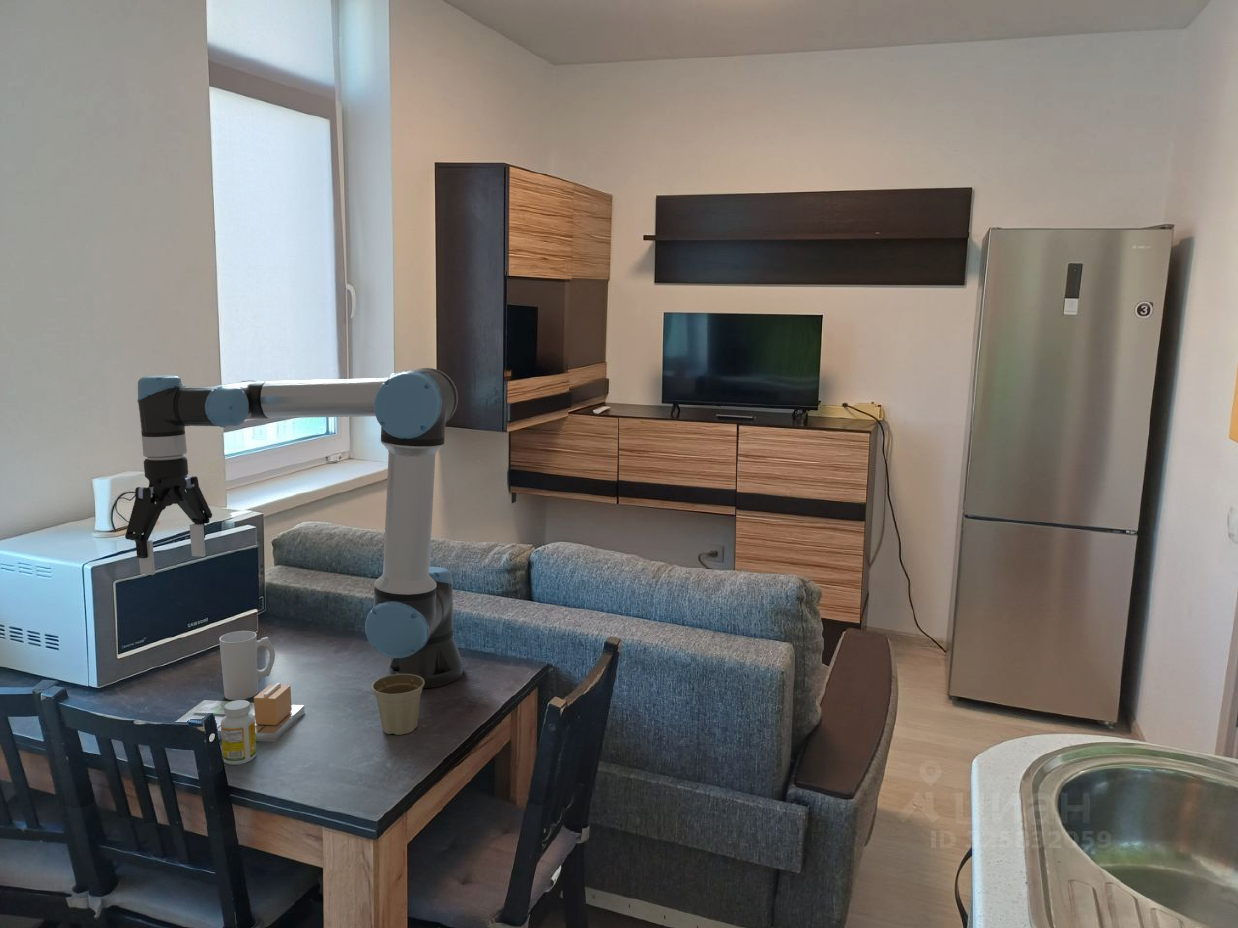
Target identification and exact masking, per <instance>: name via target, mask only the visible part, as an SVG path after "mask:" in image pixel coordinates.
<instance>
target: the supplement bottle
mask: <svg viewBox="0 0 1238 928" xmlns="http://www.w3.org/2000/svg"><path fill="white" fill-rule="evenodd" d="M250 703H251V702H250V701H248V700H247V699H244V700H231V701H230V702H229V703H227V704H226V705H225V706H224V713H225V715H226V716H225V717H224V718H223V719H222V720H221V737H222V739H221V748H222V749H221V750H222V754H221V755H222V760H223V759H224V761H223V762H224V763H226V764H227V765H231V766H232V765H233V766H235V765H243V764H246V763H249V762H250V761H253V759H255V757H256V756H257V741H256V733H255V717H254V715H253V714H252V713H250Z"/></svg>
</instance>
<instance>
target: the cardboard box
mask: <svg viewBox="0 0 1238 928" xmlns="http://www.w3.org/2000/svg"><path fill="white" fill-rule="evenodd" d="M291 690H292V689H291V685H288V684H287V685H284V684H281V682H276V683H275V684H269V685H268V686H266V687H265V688H264V689H263V690H261V691H260V692H258V693H257V694H256V695H255V696H253V703H254V710H255V724H265V725H277V724H278V723H279V722H280V721H282V720H283V719H284V718H285V717H286V716H287V715H288V714H289V713H290V712H291V711H292V705H293V704H292V691H291Z"/></svg>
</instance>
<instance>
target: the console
mask: <svg viewBox="0 0 1238 928" xmlns="http://www.w3.org/2000/svg"><path fill="white" fill-rule="evenodd" d="M229 702H231V700H230V701H227V700H211V699H210V700H207V699H204V700H202V701H201V702H200V703H198V704H197V705H196V706H194V707H193V708H191V709H190V710H189V711H187V712H186V713H185V714H183V715H182V716H181V717H179V718H178V719H176V721H174V722H187V721H188V720H190V719H202V718H204V717H205V716H206V715H207V714H208V713H213V714H214V716H215V720H216V723H217V729H218V735H219V738H220V739H219V740H222V737H221V720H222V719H223V718H224V717H225V716H226V715H225V713H224V706H225V705H226V704H227V703H229ZM249 703H250V713H252V714H253V715H254V717H255V710H254V702H249ZM291 705H292V711H291V712H290V713H289V714H288V715H287V716H286V717H285V718H284V719H283V720H282V721H280V722H279V723H278V724H277V725H265V724H255V733H256V742H263V743H264V742H267V743H276V741H277V740H278V739H280V737H282V736H283V735H284V734H285V733H286V732H287V730H288V729H290V728H291V727H292V726H293V725H294V724H295V723H296V722H298V720H299V719H301V717H303V715H304V714H305V705H304V704H291Z"/></svg>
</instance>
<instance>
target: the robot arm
mask: <svg viewBox="0 0 1238 928" xmlns="http://www.w3.org/2000/svg"><path fill="white" fill-rule="evenodd" d="M458 394H459V393H458V390H457V387H456V384H455V383H454V381H453V380H452V379H451V377H450V376H449V375H448V374H446V373H445V372H443V371H442V370H439V369H436V368H431V367H424V368H418V369H411V370H403V371H399V372H392V373H391V374H390V375H389V376H388V377H384V378H383V377H382V378H381V377H380V378H349V379H348V378H346V379H345V378H340V379H339V378H338V379H310V380H309V379H307V380H305V379H303V380H269V381H258V380H243V381H240V382H235V383H226V384H219V385H212V386H211V385H210V386H185V385H183V383H182V379H181V378H180V377H179V376H177V375H149V376H143V377H140V378H139V379H138V381H137V401H136V402H137V404H138V411H139V420H140V429H141V443H142V445H141V446H142V455H143V456H144V457H145V459H144V460H143V469H144V470H143V471H144V473H143V474H144V477H145V478H146V479H147V480H148V487H145V486H137V487H136V488H135V489H134V493H135V494H134V503H133V506H132V510H131V513H130V516H129V520H128V525H127V528H126V530H125V531H126V533H125V535H124V536H125V537H124V538H125V539H126V540H131V541H132V542H133V541H134V542H135V551H136V557H137V559H138V562H139V574H140V575H146V576H147V575H149V576H150V575H151V576H154V575H155V574H156V566H155V554H154V544H153V543H154V541H153V539H150V538H151V534H152V532H153V530H154V528H155V526H156V524H157V522H158V519H159V517H160V516H161V513H162V512H163V511H164V510H166V508H167V507H169V506H170V507H171V506H172V505H173V504H174V505H177V506H179V508H180V509H181V510H182V511H183V512H184V513H185V515H186V516H187V517H188V518H189V520H190V521H192V523H189V534H190V535H189V538H190V547H191V548H190V549H191V557H202V558H204V557H206V543H205V542H206V541H205V539H206V524H209V523H210V519H212V518H213V513H212V510H211V509H210V506H209V505H208V503H207V500H206V498H205V496H204V494H203V492H202V490H201V487H200V483H199V478H198V476H194V475H189V466H188V464H189V463H188V458H187V457H186V456H185V455H186V454H187V453H188V449H187V447H188V446H187V437H186V427H220V428H226V427H238V426H241V425H242V424H244V422H245V420H259V419H260V420H261V419H262V420H264V419H265V420H266V419H267V420H268V419H296V418H297V419H298V418H299V419H300V418H301V419H304V418H305V419H307V418H346V417H347V418H348V417H349V418H352V417H356V418H357V417H358V418H359V417H362V418H363V417H375V418H376V420H377V422H378V424H379V426H380V443H381V444H382V445H383V446H384V447H385V449H387V450H388V451H387V452H388V455H387V456H388V459H387V479H386V483H387V484H386V502H385V503H386V504H385V521H384V523H385V524H384V527H385V528H384V545H383V546H384V548H383V566H382V567H383V569H382V575H381V576H379V577H378V578H377V579H376V580H375V581H374V585H373V589H374V590H373V604H372V605H373V606H372V608H371V609H370V610H369V611H368V614H367V616H366V619H365V623H364V632H365V636H366V639H367V640H368V643H369V644H370V645H371V647H373V648H374V649H375V650H376V651H377V652H379V653H380V654H382V655H384V656H386V657H389V658H391V659H390V663H389V666H388V667H389V668H388V675H394V674H413V675H417V676H420V677H422V678H423V679H424V681H425V684H424V686H423V687H422V689H429V688H430V689H431V688H438V687H442V686H446V685H449V684H451V683H454V682H455V681H457V680H459V679H460V678H461V677H462V675H463V674H464V673H463V671H464V670H463V668H464V666H463V665H464V664H463V660H462V657H461V654H460V652H459V648H458V646H457V643H456V641H455V638H454V606H453V605H454V602H453V600H454V599H453V586H454V583H453V576H452V573H451V572H452V571H450V570H449V569H448V568H445V567H440V566H439V567H438V566H430V565H431V564H430V563H431V544H432V528H433V526H432V524H433V511H434V509H433V507H434V506H433V505H434V491H435V490H434V489H435V473H436V472H435V469H436V454H437V453H438V451H439V450H441V449H442V448H443V447H444V446H445V438H446V437H445V436H446V423H447V422H448V421H449V420H450V419H451V418H452V417H453V415H454V413H455V412H456V410H457V407H458V402H459V401H458V400H459V395H458Z"/></svg>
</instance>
